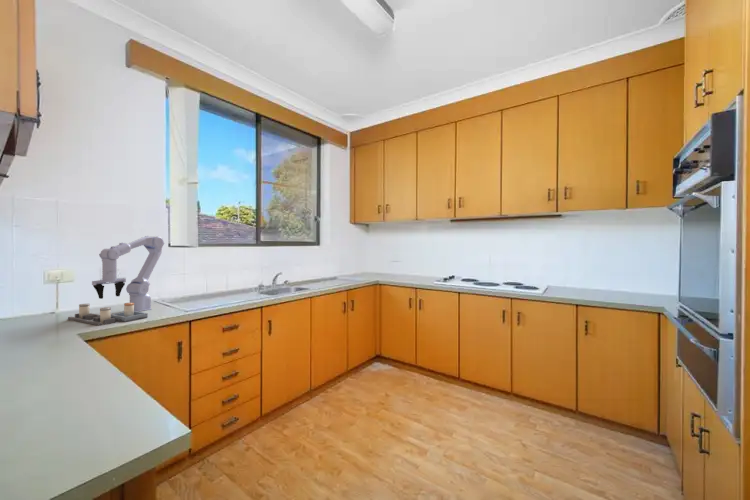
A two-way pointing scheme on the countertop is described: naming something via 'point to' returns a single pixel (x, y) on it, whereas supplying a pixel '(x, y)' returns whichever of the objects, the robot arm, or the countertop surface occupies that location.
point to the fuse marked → (128, 309)
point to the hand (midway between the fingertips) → (109, 297)
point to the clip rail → (95, 319)
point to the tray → (125, 319)
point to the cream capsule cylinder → (84, 310)
